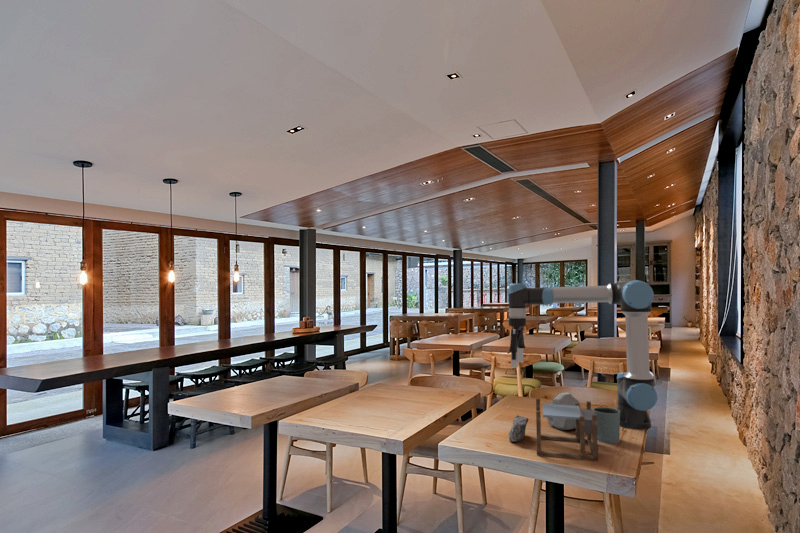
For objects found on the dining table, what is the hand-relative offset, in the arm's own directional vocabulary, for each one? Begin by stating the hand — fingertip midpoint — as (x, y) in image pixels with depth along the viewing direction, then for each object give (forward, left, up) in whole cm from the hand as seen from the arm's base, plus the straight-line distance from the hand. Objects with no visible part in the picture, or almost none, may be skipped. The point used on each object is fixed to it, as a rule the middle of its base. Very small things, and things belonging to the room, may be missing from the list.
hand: (517, 364), depth 214 cm
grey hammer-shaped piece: (-20, +26, -18) cm, 38 cm away
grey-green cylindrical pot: (-35, +11, -27) cm, 46 cm away
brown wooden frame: (-18, +26, -27) cm, 42 cm away
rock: (0, +19, -27) cm, 33 cm away
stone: (-20, -2, -27) cm, 34 cm away
